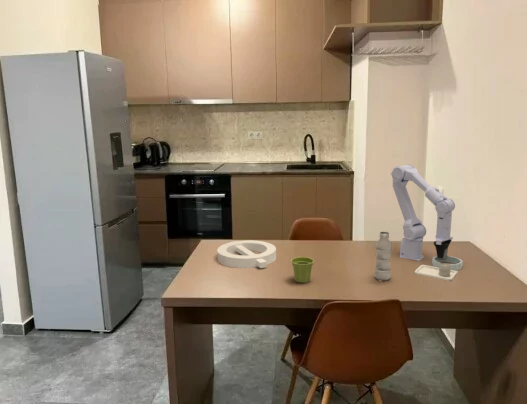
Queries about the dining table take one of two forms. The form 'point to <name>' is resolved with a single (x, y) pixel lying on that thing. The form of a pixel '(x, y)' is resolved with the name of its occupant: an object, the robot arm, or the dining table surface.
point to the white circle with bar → (246, 254)
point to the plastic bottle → (383, 257)
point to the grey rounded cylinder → (444, 269)
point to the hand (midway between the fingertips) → (441, 256)
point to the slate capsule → (444, 255)
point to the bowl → (451, 259)
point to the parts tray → (434, 272)
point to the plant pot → (302, 268)
